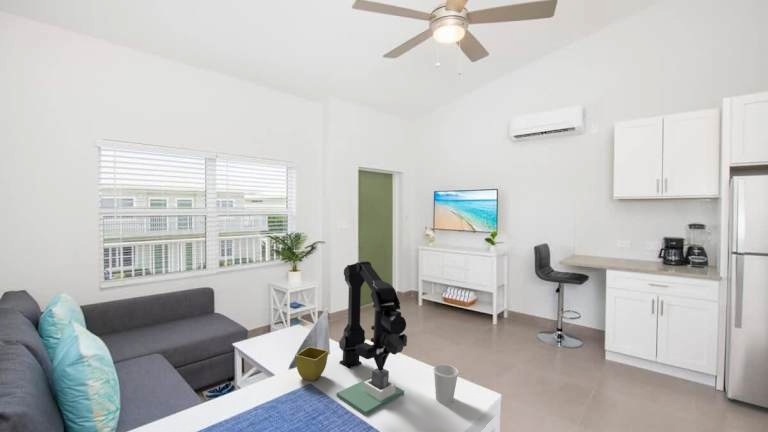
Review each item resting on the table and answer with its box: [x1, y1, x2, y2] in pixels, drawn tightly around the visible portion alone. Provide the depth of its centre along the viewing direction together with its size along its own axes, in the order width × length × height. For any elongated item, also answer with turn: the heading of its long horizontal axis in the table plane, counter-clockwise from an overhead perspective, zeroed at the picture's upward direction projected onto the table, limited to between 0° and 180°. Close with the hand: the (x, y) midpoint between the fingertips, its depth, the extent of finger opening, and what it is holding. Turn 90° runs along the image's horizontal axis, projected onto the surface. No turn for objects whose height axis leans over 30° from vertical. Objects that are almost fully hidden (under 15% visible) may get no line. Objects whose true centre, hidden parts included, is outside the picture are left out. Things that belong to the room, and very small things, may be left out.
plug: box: [371, 367, 390, 390], centre depth 115 cm, size 4×4×7 cm
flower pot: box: [295, 346, 329, 382], centre depth 126 cm, size 9×9×9 cm
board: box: [336, 376, 405, 416], centre depth 115 cm, size 14×18×4 cm
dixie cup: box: [433, 363, 460, 405], centre depth 115 cm, size 8×8×10 cm
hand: (380, 370), depth 115 cm, fingers closed
